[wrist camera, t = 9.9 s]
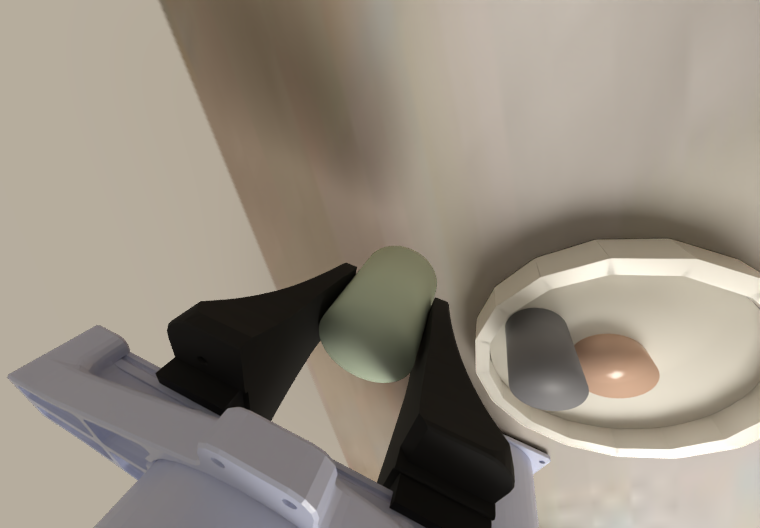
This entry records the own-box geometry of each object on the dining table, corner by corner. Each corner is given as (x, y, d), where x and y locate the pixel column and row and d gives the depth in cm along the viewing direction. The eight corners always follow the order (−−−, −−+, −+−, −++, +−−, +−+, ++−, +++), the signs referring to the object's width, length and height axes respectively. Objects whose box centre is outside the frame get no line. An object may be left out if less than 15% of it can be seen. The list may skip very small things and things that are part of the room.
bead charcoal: (548, 357, 21) (562, 420, 17) (495, 336, 21) (497, 391, 17) (580, 321, 18) (606, 383, 14) (521, 299, 19) (529, 352, 15)
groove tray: (642, 452, 23) (657, 486, 21) (447, 368, 26) (444, 390, 24) (895, 307, 14) (967, 343, 12) (544, 200, 17) (552, 213, 15)
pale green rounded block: (423, 319, 15) (399, 396, 11) (359, 293, 16) (315, 357, 12) (448, 262, 13) (429, 332, 9) (372, 235, 14) (323, 288, 10)
